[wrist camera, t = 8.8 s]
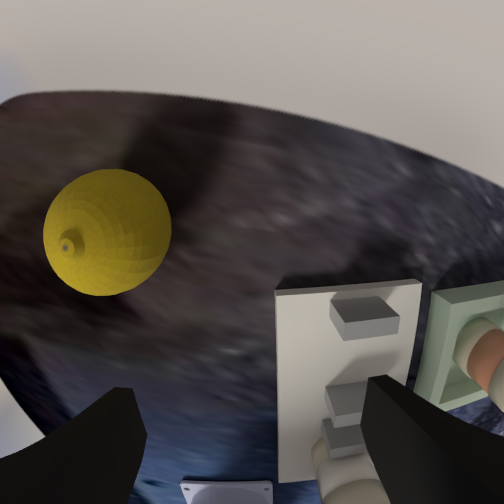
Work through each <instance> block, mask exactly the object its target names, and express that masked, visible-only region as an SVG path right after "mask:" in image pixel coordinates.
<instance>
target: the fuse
mask: <svg viewBox="0 0 504 504" xmlns="http://www.w3.org/2000/svg"><path fill="white" fill-rule="evenodd" d="M311 457H312V462H313V466H314V471H315V475H316V477H317V478H318V483H319V487H320V492H321V496H322V504H391V503H390V501H389V498H388V496H387V494H386V492H385V489H384V487H383V485H382V483H381V481H380V480H379V477H378V475H377V472H376V470H375V468H374V465H373V463H372V460H371V458H370V456H369V453H368V452H364V453H359V454H354V455H349V456H343V457H338V458H331V459H329V456H328V452H327V449H326V445H325V441H324V438H323V437H322V438H320V439H319V440H318V441H317V442H316V443H315V444H314V445H313V447H312V449H311Z"/></svg>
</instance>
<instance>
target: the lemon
mask: <svg viewBox="0 0 504 504" xmlns="http://www.w3.org/2000/svg"><path fill="white" fill-rule="evenodd" d="M170 237H171V217H170V214H169V210H168V207H167V204H166V202H165V200H164V199H163V197H162V195H161V193H160V192H159V191H158V190H157V189H156V188H155V187H154V186H153V185H152V183H151V182H149V181H148V180H146V179H144V178H143V177H141V176H140V175H138V174H136V173H133V172H129V171H125V170H122V169H102V170H97V171H94V172H91V173H88V174H85V175H83V176H80V177H79V178H77V179H76V180H74V181H73V182H71V183H70V184H68V185H67V186H66V187H64V188H63V189H62V191H61V192H60V193H59V194H58V196H57V197H56V198H55V199H54V201H53V202H52V204H51V206H50V208H49V211H48V213H47V216H46V220H45V224H44V246H45V250H46V255H47V257H48V259H49V262H50V264H51V266H52V268H53V269H54V271H55V272H56V274H57V275H58V276H59V277H60V278H61V279H62V280H63V281H64V282H65V283H66V284H67V285H69V286H71V287H73V288H74V289H76V290H78V291H80V292H82V293H86V294H90V295H96V296H99V295H114V294H118V293H121V292H124V291H127V290H130V289H132V288H134V287H136V286H137V285H139V284H140V283H142V282H143V281H145V280H146V279H148V278H149V277H150V276H151V275H152V273H153V272H154V271H155V270H156V269H157V268H158V266H159V265H160V264H161V262H162V260H163V258H164V256H165V254H166V252H167V250H168V247H169V242H170Z"/></svg>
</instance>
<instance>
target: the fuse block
mask: <svg viewBox="0 0 504 504" xmlns="http://www.w3.org/2000/svg"><path fill="white" fill-rule="evenodd" d="M421 289H422V283H421V282H419V281H418V280H416V279H406V280H396V281H385V282H374V283H363V284H351V285H339V286H326V287H313V288H298V289H283V290H275V316H276V355H277V410H278V480H279V483H287V482H297V481H306V480H313V479H316V482H317V486H318V491H319V496H320V500H321V503H322V496H321V492H320V487H319V483H318V478H317V477H316V475H315V471H314V466H313V462H312V457H311V449H312V447H313V445H314V444H315V443H316V442H317V441H318V440H319V439H320V438H322V437H323V438H324V441H325V445H326V449H327V452H328V456H329V459H331V458H338V457H343V456H349V455H354V454H359V453H364V452H368V451H367V448H366V445H365V441H364V438H363V434H362V430H361V427H360V422H361V417H362V411H363V406H364V400H365V395H366V389H367V382H368V377H373V376H379V375H385V374H387V375H388V376H390V377H392V378H393V379H395V380H396V381H398V382H399V383H401V384H402V385H404V386H405V385H406V380H407V376H408V371H409V366H410V362H411V356H412V351H413V346H414V340H415V334H416V328H417V321H418V314H419V306H420V298H421ZM372 463H373V462H372ZM374 468H375V467H374Z"/></svg>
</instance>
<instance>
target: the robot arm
mask: <svg viewBox="0 0 504 504" xmlns="http://www.w3.org/2000/svg"><path fill="white" fill-rule="evenodd" d="M360 427H361V430H362V434H363V438H364V441H365V445H366V448H367V451H368V453H369V456H370V458H371V460H372V462H373V465H374V467H375V469H376V472H377V474H378V476H379V478H380V480H381V483H382V485H383V487H384V489H385V492H386V494H387V496H388V498H389V501H390V503H391V504H504V437H503V436H500V435H497V434H494V433H491V432H488V431H486V430H483V429H481V428H478V427H476V426H473V425H471V424H469V423H467V422H464V421H462V420H460V419H459V418H457V417H455V416H453V415H451V414H449V413H447V412H445V411H444V410H442V409H440V408H438V407H437V406H435V405H433V404H432V403H430V402H429V401H427V400H425V399H424V398H422V397H421V396H419V395H418V394H416V393H415V392H413V391H412V390H410V389H408V388H407V387H405V386H404V385H402V384H401V383H399V382H398V381H396V380H395V379H393V378H392V377H390V376H388V375H387V374H385V375H379V376H373V377H368V382H367V389H366V395H365V400H364V406H363V411H362V417H361V422H360ZM146 438H147V432H146V430H145V427H144V424H143V421H142V418H141V415H140V412H139V409H138V405H137V402H136V399H135V396H134V392H133V389H132V388H119V387H115V388H113V389H112V390H110V391H109V392H107V393H106V394H105V395H103V396H102V397H101V398H99V399H98V400H97V401H95V402H94V403H93V404H92V405H90V406H89V407H88V408H86V409H85V410H84V411H82V412H81V413H80V414H78V415H77V416H76V417H74V418H73V419H72V420H70V421H69V422H67V423H66V424H64V425H63V426H61V427H60V428H58V429H57V430H55V431H54V432H52V433H51V434H49V435H48V436H46V437H44V438H43V439H41V440H39V441H38V442H36V443H34V444H32V445H30V446H28V447H26V448H24V449H22V450H20V451H18V452H16V453H13V454H11V455H8V456H5V457H3V458H0V504H127V502H128V500H129V497H130V494H131V491H132V488H133V485H134V482H135V480H136V477H137V474H138V471H139V468H140V465H141V462H142V458H143V454H144V449H145V443H146ZM180 486H181V489H182V491H183V494H184V496H185V499H186V501H187V504H273V485H272V482H271V481H244V482H210V481H187V480H183V481H181V483H180Z"/></svg>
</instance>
